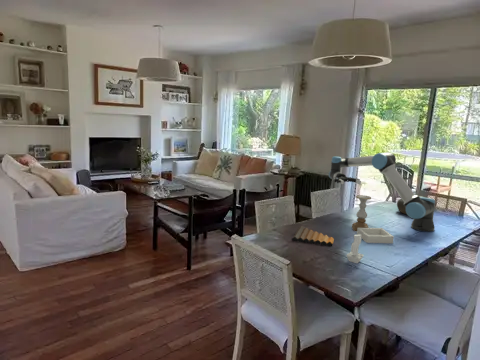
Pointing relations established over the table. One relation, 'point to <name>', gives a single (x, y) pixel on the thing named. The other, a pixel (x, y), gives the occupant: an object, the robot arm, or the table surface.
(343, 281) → the table surface
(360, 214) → the candle holder
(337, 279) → the table surface
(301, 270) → the table surface
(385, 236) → the rimmed tray
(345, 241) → the table surface
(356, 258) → the figurine
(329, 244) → the pan flute
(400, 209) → the gourd
